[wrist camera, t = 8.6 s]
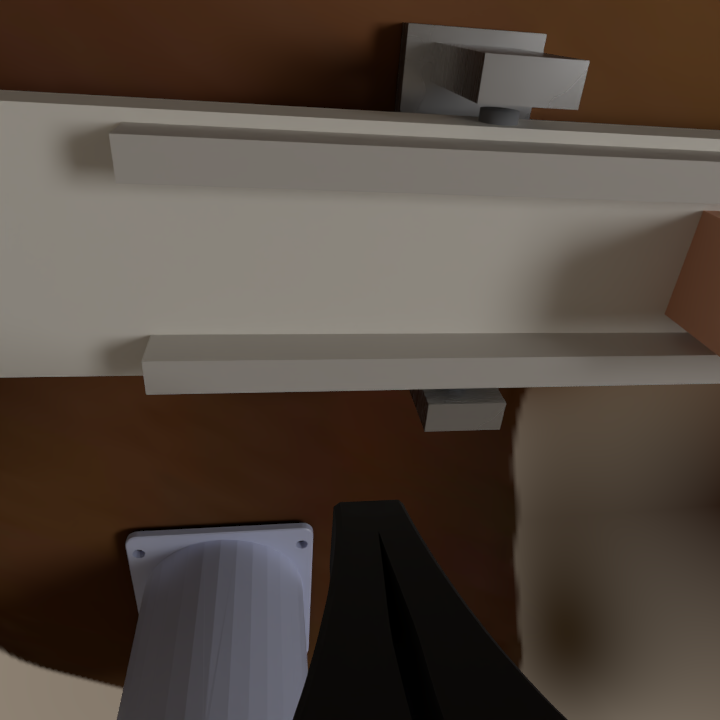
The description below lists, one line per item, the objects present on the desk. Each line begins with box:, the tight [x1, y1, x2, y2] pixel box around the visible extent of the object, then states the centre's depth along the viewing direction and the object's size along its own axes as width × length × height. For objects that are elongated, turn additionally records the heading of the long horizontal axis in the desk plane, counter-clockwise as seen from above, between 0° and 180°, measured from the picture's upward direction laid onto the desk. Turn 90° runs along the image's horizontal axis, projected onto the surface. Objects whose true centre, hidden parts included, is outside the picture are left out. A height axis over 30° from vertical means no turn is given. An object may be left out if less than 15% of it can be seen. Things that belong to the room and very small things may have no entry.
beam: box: [0, 90, 720, 395], centre depth 15 cm, size 33×8×5 cm, turn 86°
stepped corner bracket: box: [394, 22, 590, 432], centre depth 17 cm, size 31×11×5 cm, turn 86°
